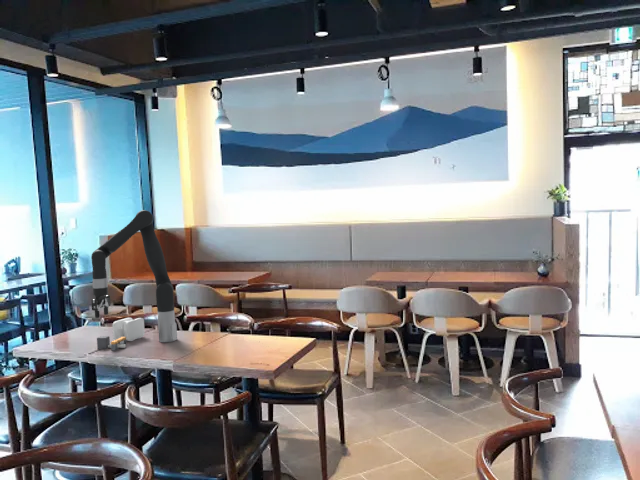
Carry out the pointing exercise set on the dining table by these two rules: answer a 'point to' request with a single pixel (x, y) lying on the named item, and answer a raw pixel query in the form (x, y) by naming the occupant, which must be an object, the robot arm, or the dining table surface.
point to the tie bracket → (115, 343)
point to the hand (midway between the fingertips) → (101, 316)
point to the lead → (106, 343)
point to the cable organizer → (128, 329)
